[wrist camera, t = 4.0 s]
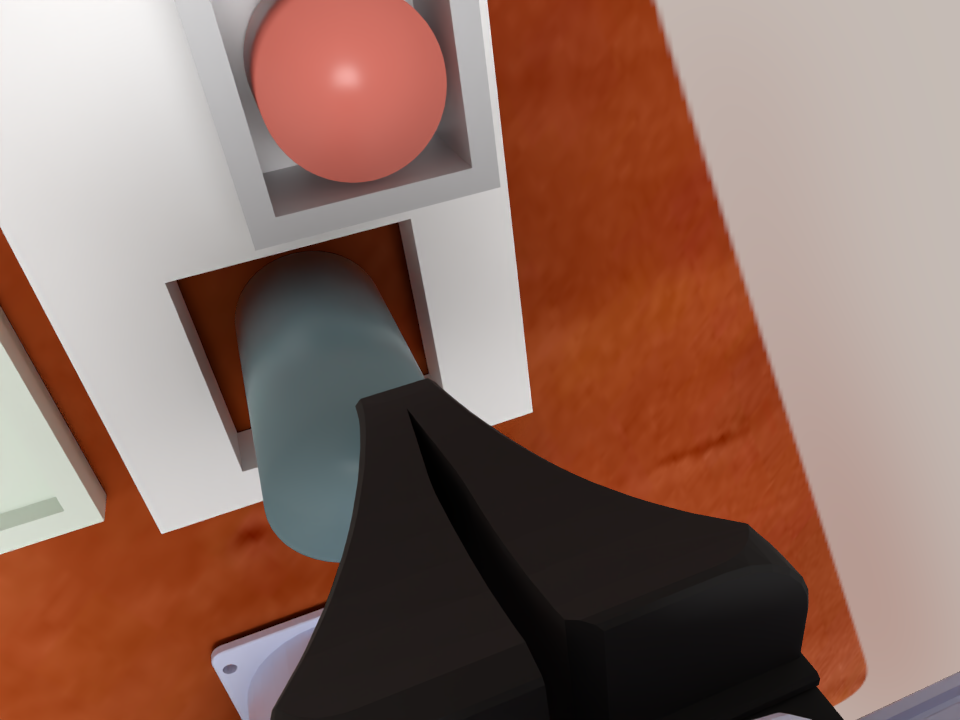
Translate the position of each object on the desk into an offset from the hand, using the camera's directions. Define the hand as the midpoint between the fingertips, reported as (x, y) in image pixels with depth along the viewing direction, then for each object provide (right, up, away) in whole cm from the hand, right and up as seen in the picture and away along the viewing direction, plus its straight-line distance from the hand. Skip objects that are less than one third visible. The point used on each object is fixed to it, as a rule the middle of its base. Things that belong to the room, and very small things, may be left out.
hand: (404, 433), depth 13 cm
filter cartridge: (-4, +3, +10) cm, 11 cm away
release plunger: (-2, +8, +4) cm, 9 cm away
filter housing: (-4, +5, +8) cm, 10 cm away
